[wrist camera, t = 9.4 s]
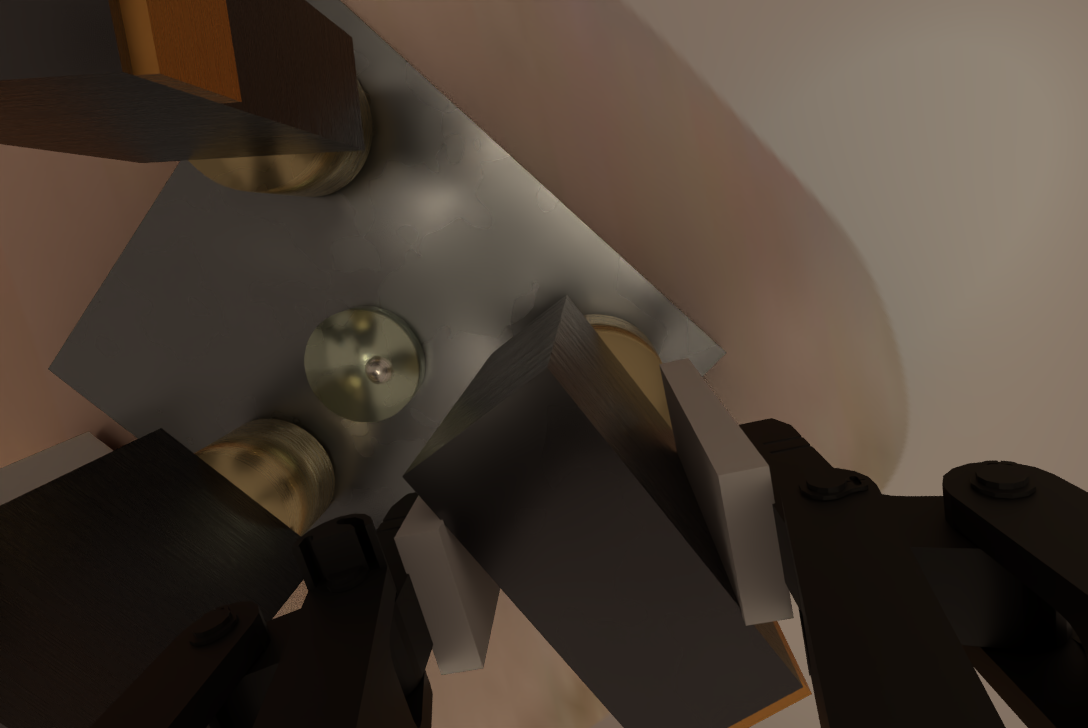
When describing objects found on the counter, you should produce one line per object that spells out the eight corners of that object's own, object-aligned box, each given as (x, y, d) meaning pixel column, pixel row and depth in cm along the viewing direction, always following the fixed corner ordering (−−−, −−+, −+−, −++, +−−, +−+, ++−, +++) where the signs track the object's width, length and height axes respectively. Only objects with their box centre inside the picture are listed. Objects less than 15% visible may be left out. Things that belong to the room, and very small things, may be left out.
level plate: (65, 364, 24) (15, 378, 22) (314, -23, 20) (282, -52, 18) (425, 643, 26) (411, 680, 24) (721, 348, 22) (736, 361, 20)
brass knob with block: (487, 346, 22) (357, 510, 9) (592, 264, 21) (600, 328, 8) (604, 490, 23) (625, 804, 10) (709, 419, 22) (869, 675, 9)
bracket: (106, 423, 25) (-89, 506, 18) (235, 523, 26) (97, 640, 19) (-20, 604, 28) (-232, 738, 21) (98, 688, 29) (-66, 846, 22)
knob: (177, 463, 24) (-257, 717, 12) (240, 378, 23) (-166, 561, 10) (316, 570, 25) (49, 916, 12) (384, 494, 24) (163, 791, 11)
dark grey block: (222, 201, 21) (-287, 172, 9) (197, 53, 20) (-434, -221, 8) (417, 191, 20) (164, 145, 8) (403, 38, 19) (81, -286, 7)
